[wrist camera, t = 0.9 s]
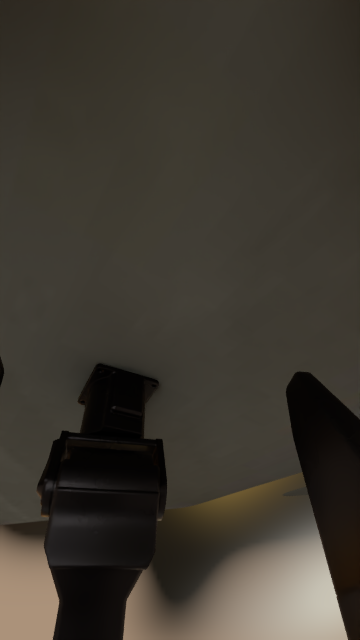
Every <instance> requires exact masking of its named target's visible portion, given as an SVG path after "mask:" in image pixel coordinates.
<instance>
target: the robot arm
mask: <svg viewBox="0 0 360 640" xmlns="http://www.w3.org/2000/svg"><path fill="white" fill-rule="evenodd" d="M3 376H4V367H3V364H2V360H1V357H0V386H1V383H2V379H3ZM158 386H159V382H158V381H157V380H155V379H152V378H148V377H145V376H141V375H138V374H134V373H131V372H127V371H124V370H121V369H117V368H114V367H110V366H107V365H103V364H97V365H96V366H95V368H94V370H93V372H92V374H91V375H90V377H89V379H88V381H87V383H86V385H85V387H84V388H83V390H82V392H81V394H80V396H79V398H78V403H79V404H81V405H86V406H85V411H84V415H83V420H82V425H81V430H80V433H72V432H69V431H62V433H61V436H60V438H59V439H57V440H55V441H53V444H52V448H51V452H50V455H49V459H48V461H47V464H46V466H45V469H44V471H43V473H42V476H41V478H40V480H39V483H38V486H37V493H38V495H39V496H40V498H41V505H42V509H41V516H42V517H49V521H48V527H47V531H46V536H45V541H44V549H45V553H46V556H47V560H48V564H49V568H50V570H51V573H52V577H53V580H54V584H55V587H56V590H57V594H58V597H59V608H58V614H57V619H56V625H55V631H54V636H53V640H123V632H124V620H125V609H126V601H127V598H128V597H129V595H130V593H131V591H132V589H133V587H134V585H135V584H136V582H137V580H138V578H139V576H140V574H141V573H142V571H143V570H146V569H147V568H148V566H149V564H150V562H151V560H152V557H153V555H154V553H155V544H156V531H157V520H159V521H161V520H162V518H163V515H164V511H165V505H166V496H167V477H166V468H165V459H164V449H163V440H162V439H156V440H153V439H144V421H145V403H146V402H147V401H148V400H149V398H150V397H151V396H152V394H153V393H154V392H155V390H156V389H157V388H158ZM286 397H287V403H288V409H289V415H290V421H291V428H292V433H293V438H294V442H295V446H296V450H297V454H298V457H299V461H300V465H301V468H302V472H303V475H304V479H305V483H306V487H307V490H308V494H309V497H310V501H311V505H312V508H313V512H314V516H315V519H316V523H317V527H318V530H319V534H320V537H321V541H322V545H323V549H324V552H325V556H326V560H327V563H328V567H329V570H330V574H331V578H332V582H333V585H334V589H335V592H336V595H337V600H338V604H339V608H340V611H341V615H342V618H343V622H344V626H345V630H346V633H347V637H348V640H360V419H359V418H358V417H357V416H356V415H354V414H353V413H352V412H351V411H350V410H349V409H348V408H347V407H346V406H345V405H344V404H343V403H342V402H341V401H340V400H339V399H338V398H336V397H335V396H334V395H333V394H332V393H331V392H330V391H329V390H328V389H327V388H326V387H325V386H324V385H323V384H322V383H321V382H320V381H318V380H317V379H316V378H315V377H314V376H313V375H312V374H311V373H309V372H296V373H295V374H294V376H293V378H292V379H291V381H290V383H289V384H288V386H287V389H286Z"/></svg>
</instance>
